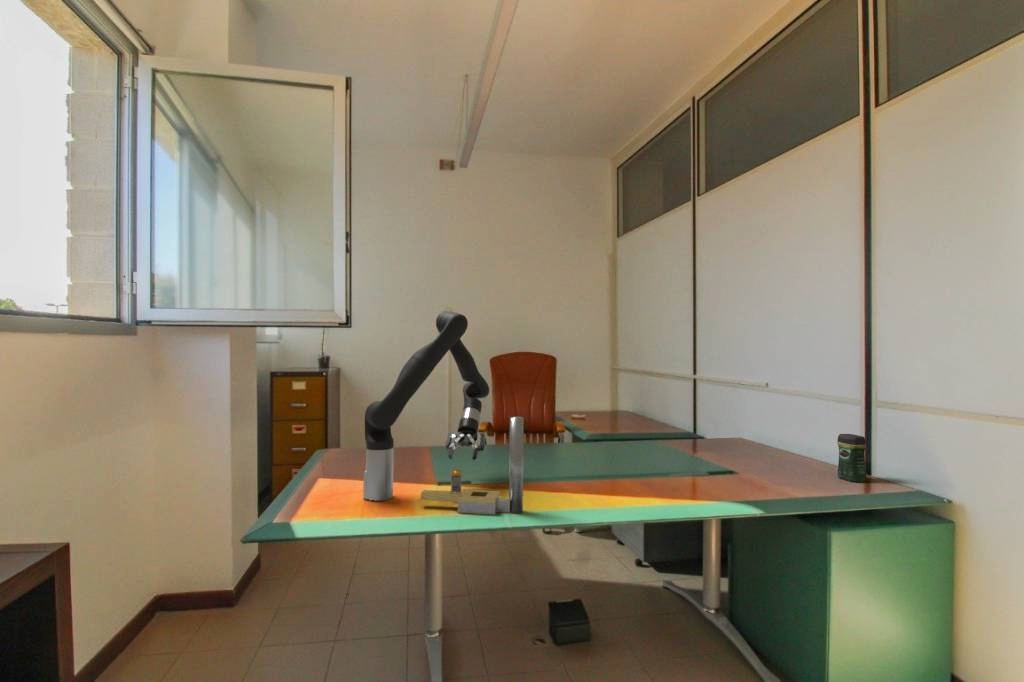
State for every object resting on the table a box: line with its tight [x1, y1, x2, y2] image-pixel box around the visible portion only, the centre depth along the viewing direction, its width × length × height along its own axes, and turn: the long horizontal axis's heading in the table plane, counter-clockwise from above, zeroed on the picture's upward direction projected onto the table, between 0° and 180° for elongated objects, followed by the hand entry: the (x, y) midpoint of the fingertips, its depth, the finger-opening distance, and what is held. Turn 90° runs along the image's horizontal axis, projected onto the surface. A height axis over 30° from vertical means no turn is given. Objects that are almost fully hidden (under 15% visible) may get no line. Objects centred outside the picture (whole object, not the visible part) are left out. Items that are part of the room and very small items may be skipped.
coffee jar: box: [837, 433, 868, 483], centre depth 207 cm, size 10×8×19 cm
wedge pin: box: [450, 469, 462, 492], centre depth 174 cm, size 4×4×10 cm
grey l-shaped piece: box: [420, 416, 524, 516], centre depth 164 cm, size 33×9×30 cm, turn 82°
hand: (462, 458), depth 183 cm, fingers open, 8 cm apart
